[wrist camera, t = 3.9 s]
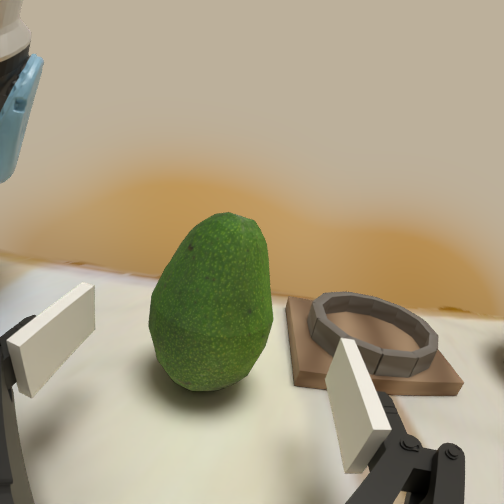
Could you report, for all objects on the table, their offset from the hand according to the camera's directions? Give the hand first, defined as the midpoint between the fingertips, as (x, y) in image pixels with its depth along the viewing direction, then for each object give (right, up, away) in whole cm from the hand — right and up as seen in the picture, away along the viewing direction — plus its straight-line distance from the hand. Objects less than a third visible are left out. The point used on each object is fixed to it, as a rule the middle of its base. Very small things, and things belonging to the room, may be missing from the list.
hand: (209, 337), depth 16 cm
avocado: (-2, -5, +6) cm, 8 cm away
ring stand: (+13, -5, +14) cm, 20 cm away
